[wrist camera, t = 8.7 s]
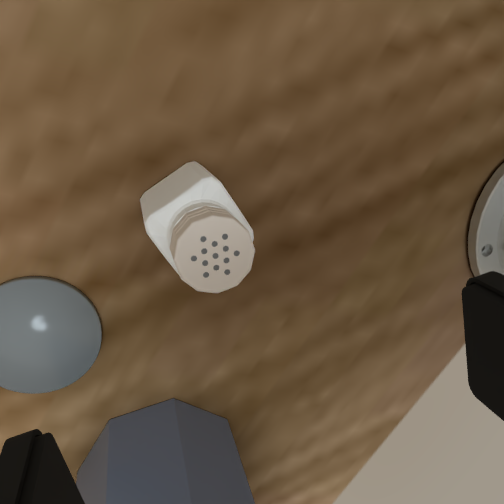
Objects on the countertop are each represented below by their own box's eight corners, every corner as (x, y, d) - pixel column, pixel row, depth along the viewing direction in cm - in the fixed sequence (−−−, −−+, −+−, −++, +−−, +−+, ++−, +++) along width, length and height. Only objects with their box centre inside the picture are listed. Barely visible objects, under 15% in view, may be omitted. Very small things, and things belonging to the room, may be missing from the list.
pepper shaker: (233, 212, 28) (283, 265, 20) (177, 252, 28) (201, 322, 19) (194, 155, 27) (229, 184, 18) (134, 196, 27) (141, 246, 18)
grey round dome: (79, 260, 27) (78, 264, 26) (117, 365, 29) (117, 370, 29) (-54, 297, 26) (-58, 301, 25) (-3, 403, 28) (-5, 409, 28)
